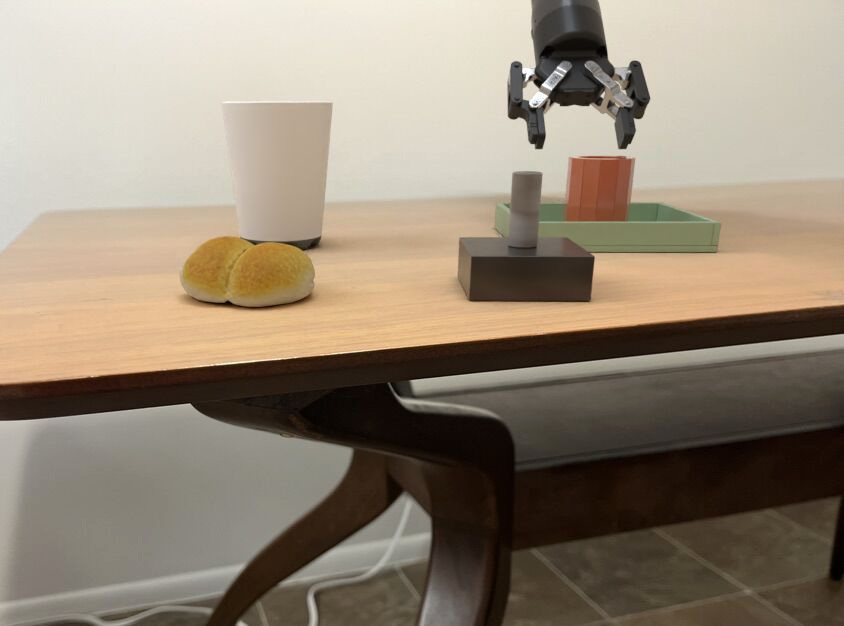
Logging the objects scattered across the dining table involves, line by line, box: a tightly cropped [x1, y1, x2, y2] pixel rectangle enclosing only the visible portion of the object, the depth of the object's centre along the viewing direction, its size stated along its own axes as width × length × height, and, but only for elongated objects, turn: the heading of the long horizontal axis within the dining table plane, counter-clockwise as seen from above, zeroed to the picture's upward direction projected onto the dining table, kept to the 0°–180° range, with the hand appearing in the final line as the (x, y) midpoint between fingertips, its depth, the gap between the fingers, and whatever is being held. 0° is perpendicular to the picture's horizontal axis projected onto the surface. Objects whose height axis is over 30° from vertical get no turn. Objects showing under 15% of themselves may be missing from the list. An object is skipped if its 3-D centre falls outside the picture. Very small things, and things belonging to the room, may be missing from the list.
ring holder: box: [457, 170, 596, 302], centre depth 56 cm, size 8×8×8 cm
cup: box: [221, 100, 334, 251], centre depth 74 cm, size 10×10×13 cm
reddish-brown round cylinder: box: [563, 154, 636, 222], centre depth 77 cm, size 6×6×7 cm
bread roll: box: [179, 235, 316, 308], centre depth 56 cm, size 8×9×4 cm
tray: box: [494, 201, 722, 253], centre depth 78 cm, size 17×15×3 cm
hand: (583, 143), depth 83 cm, fingers open, 8 cm apart
